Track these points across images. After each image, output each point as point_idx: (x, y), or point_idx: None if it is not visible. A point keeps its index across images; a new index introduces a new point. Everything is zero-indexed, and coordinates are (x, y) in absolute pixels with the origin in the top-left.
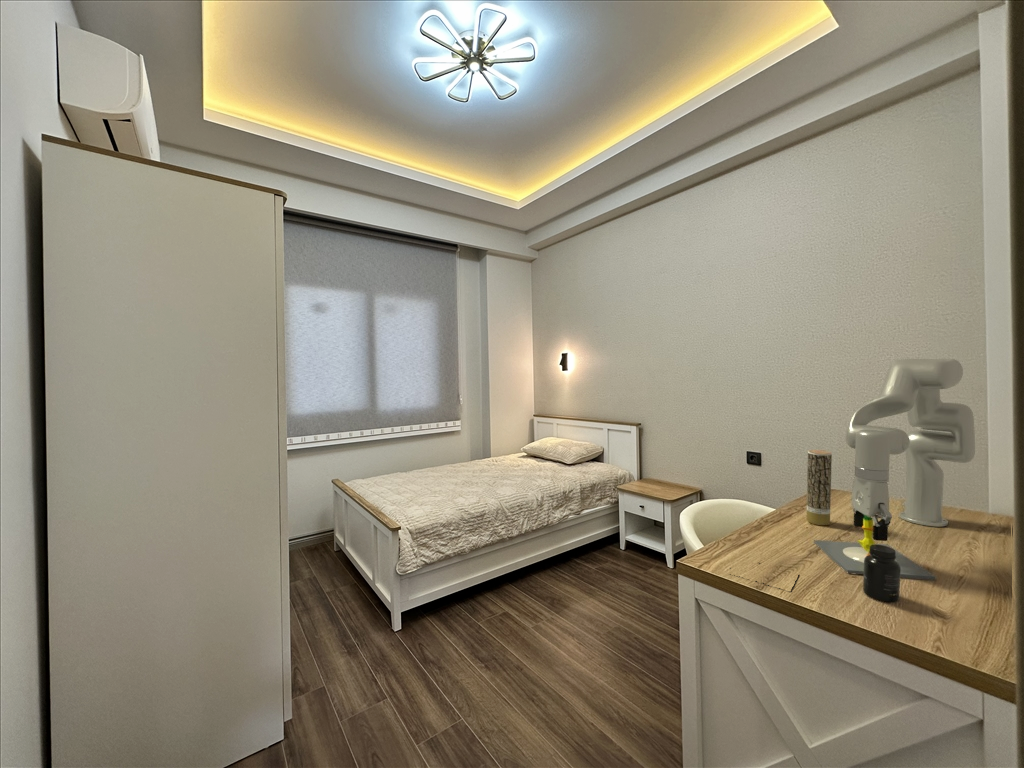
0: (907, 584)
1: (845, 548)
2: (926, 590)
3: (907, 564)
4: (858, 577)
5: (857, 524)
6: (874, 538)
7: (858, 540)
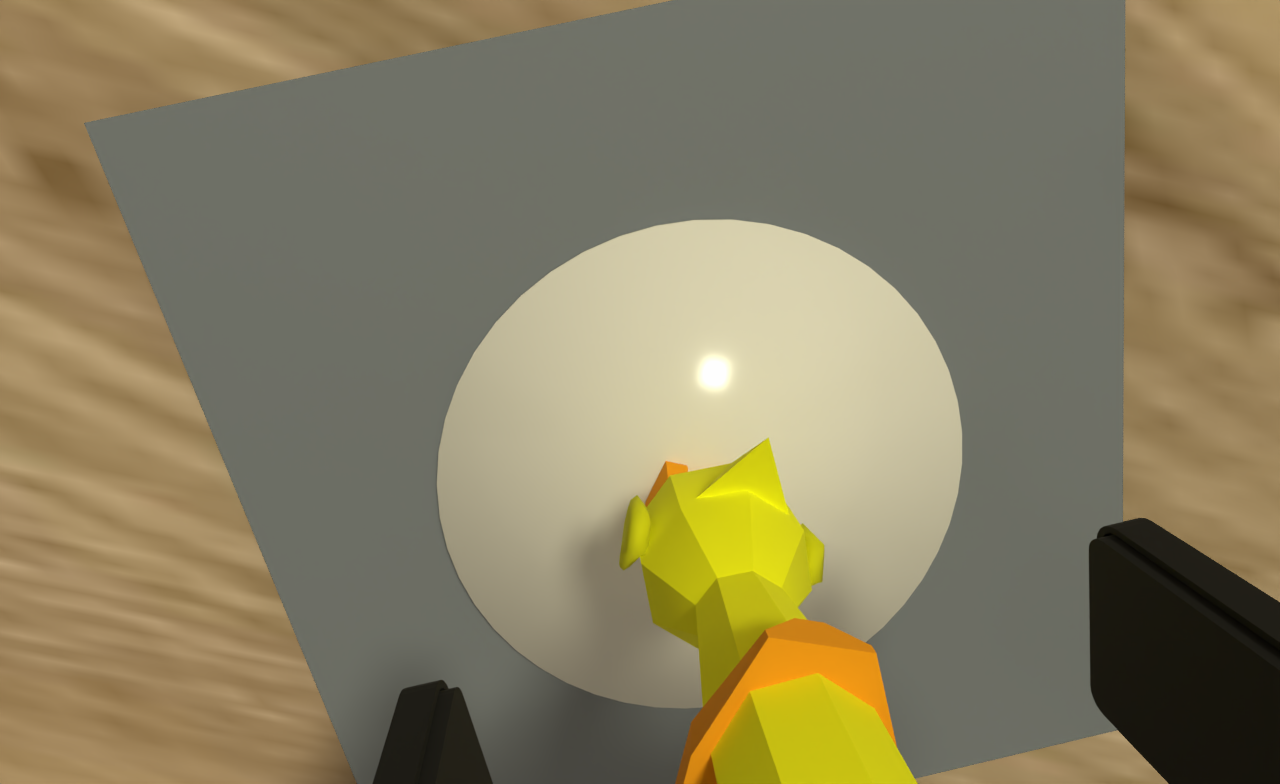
0: (175, 654)
1: (871, 279)
2: (118, 761)
3: (616, 769)
4: (73, 231)
5: (1123, 591)
6: (403, 709)
7: (750, 454)
